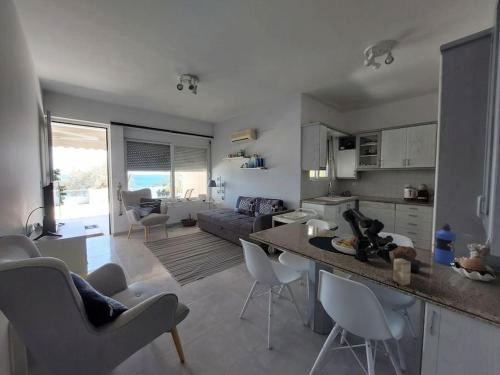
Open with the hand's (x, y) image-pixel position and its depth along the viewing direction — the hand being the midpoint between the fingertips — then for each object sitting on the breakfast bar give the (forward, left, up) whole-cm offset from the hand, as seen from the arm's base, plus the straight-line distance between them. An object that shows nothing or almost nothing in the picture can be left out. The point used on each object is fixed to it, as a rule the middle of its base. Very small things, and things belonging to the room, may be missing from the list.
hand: (390, 263), depth 113 cm
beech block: (+7, 0, -8) cm, 10 cm away
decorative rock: (-14, +28, -8) cm, 32 cm away
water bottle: (-5, +50, -8) cm, 51 cm away
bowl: (-41, +12, -8) cm, 44 cm away
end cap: (-3, +18, -8) cm, 20 cm away
